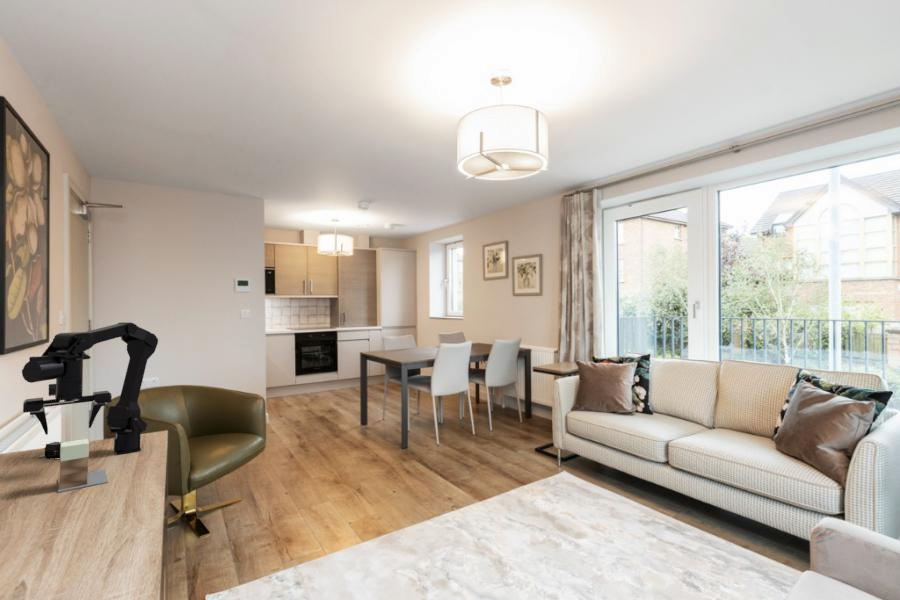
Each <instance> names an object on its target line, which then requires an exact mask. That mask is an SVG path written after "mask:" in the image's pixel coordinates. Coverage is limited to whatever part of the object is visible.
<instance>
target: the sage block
mask: <svg viewBox="0 0 900 600" xmlns="http://www.w3.org/2000/svg"><path fill="white" fill-rule="evenodd" d="M61 442H62V443H61V445H60V459H61V461H67V460H73V459H78V458H84V457H88V458H89V457H90V441H89V438H84V439H77V440H76V439H75V440H69V441H61ZM60 459H59V460H60Z"/></svg>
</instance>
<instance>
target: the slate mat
mask: <svg viewBox="0 0 900 600" xmlns="http://www.w3.org/2000/svg"><path fill="white" fill-rule="evenodd" d="M59 480H60V477H58V479H57V493H59V494H60V493H64V492H67V491H74V490H78V489H84V488H89V487H94V486H99V485H103V484H108V483H109V480H108V476H107V473H106V469H100V470H95V471H90V472H89V471H88V478H87V484H86V485H81V486H76V487H71V488H66V489H61V490H59Z"/></svg>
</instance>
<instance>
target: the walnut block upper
mask: <svg viewBox="0 0 900 600" xmlns="http://www.w3.org/2000/svg"><path fill="white" fill-rule="evenodd" d="M83 471H88V472H89V457H84V458H78V459H73V460H67V461H61V459H59V477H60V476H61V475H66V474H72V473H77V472H83Z"/></svg>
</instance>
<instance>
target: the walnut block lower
mask: <svg viewBox="0 0 900 600" xmlns="http://www.w3.org/2000/svg"><path fill="white" fill-rule="evenodd" d="M88 473H89V470H88V471H83V472H77V473H72V474H66V475H61V476H60V475H59V478H60V480H59V490H61V489H66V488H71V487H76V486H81V485H86V484H87V478H88Z"/></svg>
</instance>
